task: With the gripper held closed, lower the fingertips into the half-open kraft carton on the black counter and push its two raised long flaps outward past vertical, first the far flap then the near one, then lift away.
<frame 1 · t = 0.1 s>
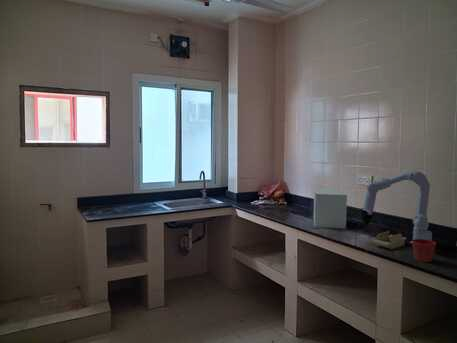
hand: (365, 223, 212), 11 cm above the counter, tool pointing down, fingers open, 7 cm apart
flower pot: (422, 259, 177), on the counter
cube: (328, 224, 255), on the counter
carton: (389, 244, 203), on the counter
flap far: (382, 234, 206), point 5 cm above the counter, hinge at 60.0°
flap near: (396, 238, 199), point 5 cm above the counter, hinge at 60.0°
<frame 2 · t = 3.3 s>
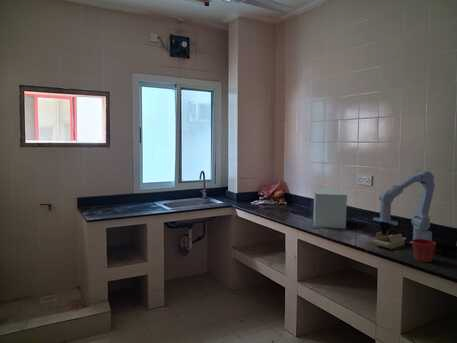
hand: (384, 234, 205), 5 cm above the counter, tool pointing down, fingers closed
flap far: (381, 234, 206), point 5 cm above the counter, hinge at 78.6°, touching gripper
everything else where it was.
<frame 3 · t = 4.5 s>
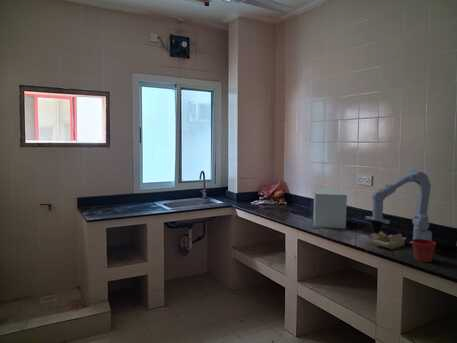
hand: (376, 233, 209), 5 cm above the counter, tool pointing down, fingers closed
flap far: (378, 235, 208), point 4 cm above the counter, hinge at 151.3°
everything else where it was.
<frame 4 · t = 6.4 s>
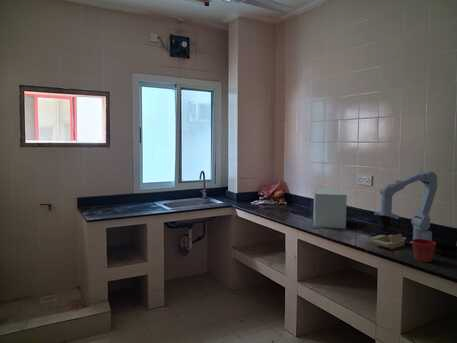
hand: (385, 228, 204), 9 cm above the counter, tool pointing down, fingers closed
flap far: (377, 237, 208), point 3 cm above the counter, hinge at 187.4°
everything else where it was.
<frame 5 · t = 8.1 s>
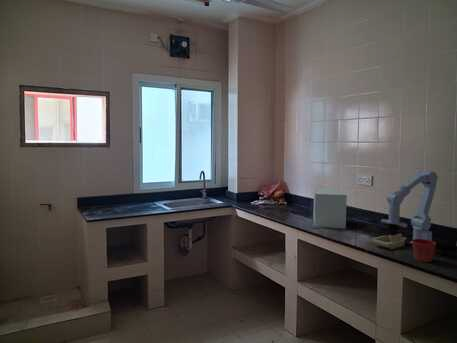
hand: (393, 236, 200), 5 cm above the counter, tool pointing down, fingers closed
flap far: (378, 237, 208), point 3 cm above the counter, hinge at 200.3°
flap near: (396, 238, 199), point 5 cm above the counter, hinge at 60.6°, touching gripper
everything else where it was.
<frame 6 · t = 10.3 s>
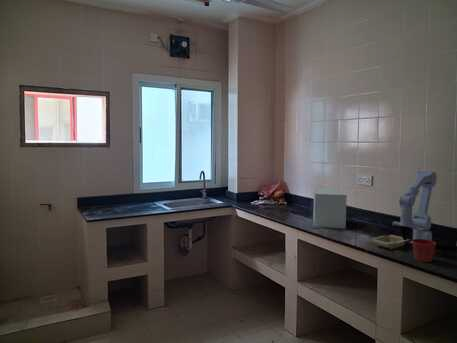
hand: (405, 239, 195), 5 cm above the counter, tool pointing down, fingers closed
flap near: (401, 241, 196), point 4 cm above the counter, hinge at 164.3°
everything else where it was.
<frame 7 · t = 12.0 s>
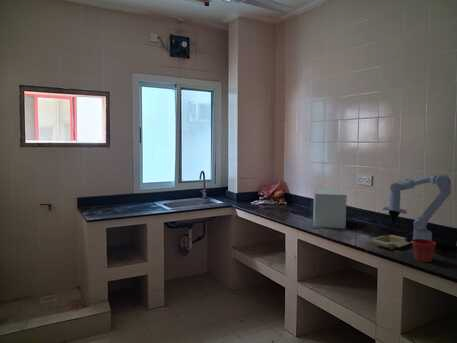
hand: (393, 222, 214), 10 cm above the counter, tool pointing down, fingers closed
flap near: (401, 243, 197), point 3 cm above the counter, hinge at 199.2°
everything else where it was.
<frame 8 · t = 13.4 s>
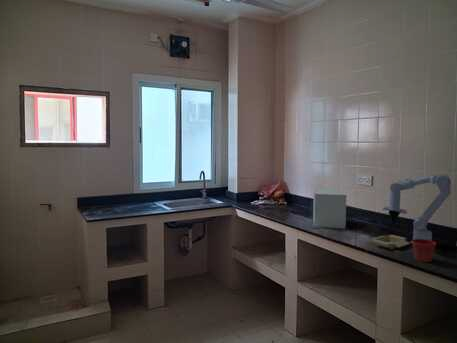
hand: (393, 222, 214), 10 cm above the counter, tool pointing down, fingers closed
flap near: (401, 243, 197), point 3 cm above the counter, hinge at 200.2°
everything else where it was.
at the end: flap far at +200° (first picture: +60°); flap near at +200° (first picture: +60°) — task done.
